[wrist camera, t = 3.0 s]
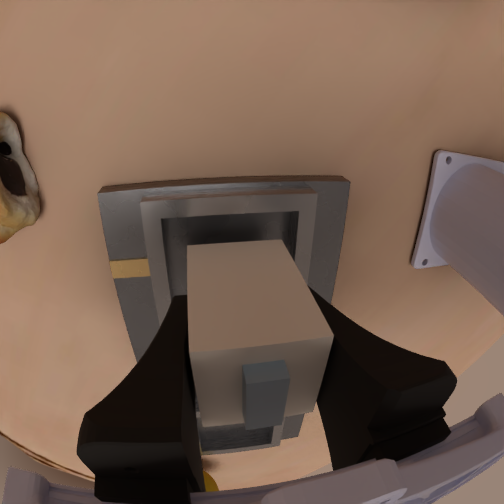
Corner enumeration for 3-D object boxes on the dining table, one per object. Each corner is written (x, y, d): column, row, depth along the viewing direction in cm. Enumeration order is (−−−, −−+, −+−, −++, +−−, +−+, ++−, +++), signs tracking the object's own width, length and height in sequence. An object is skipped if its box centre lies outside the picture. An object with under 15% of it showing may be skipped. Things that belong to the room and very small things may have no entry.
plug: (281, 239, 14) (342, 352, 8) (276, 312, 16) (318, 426, 10) (187, 245, 13) (190, 372, 7) (194, 319, 15) (204, 443, 9)
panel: (341, 175, 16) (361, 189, 14) (295, 428, 28) (301, 446, 26) (102, 186, 14) (90, 202, 12) (170, 442, 26) (171, 461, 24)
